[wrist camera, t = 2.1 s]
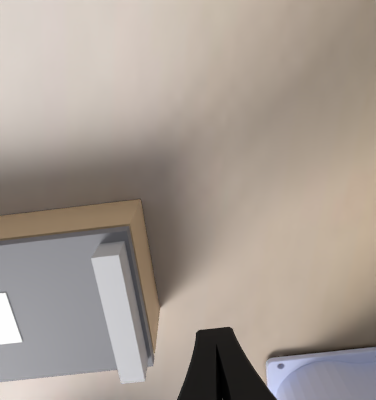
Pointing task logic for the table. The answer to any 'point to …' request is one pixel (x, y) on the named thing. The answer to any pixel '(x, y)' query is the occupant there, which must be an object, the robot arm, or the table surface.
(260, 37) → the table surface
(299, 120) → the table surface
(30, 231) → the box
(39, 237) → the lid
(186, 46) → the table surface
